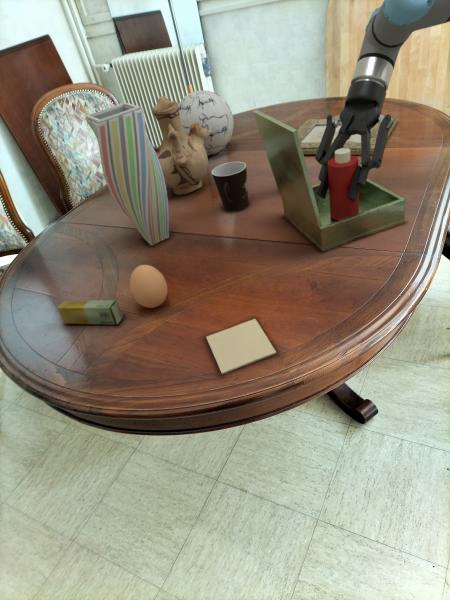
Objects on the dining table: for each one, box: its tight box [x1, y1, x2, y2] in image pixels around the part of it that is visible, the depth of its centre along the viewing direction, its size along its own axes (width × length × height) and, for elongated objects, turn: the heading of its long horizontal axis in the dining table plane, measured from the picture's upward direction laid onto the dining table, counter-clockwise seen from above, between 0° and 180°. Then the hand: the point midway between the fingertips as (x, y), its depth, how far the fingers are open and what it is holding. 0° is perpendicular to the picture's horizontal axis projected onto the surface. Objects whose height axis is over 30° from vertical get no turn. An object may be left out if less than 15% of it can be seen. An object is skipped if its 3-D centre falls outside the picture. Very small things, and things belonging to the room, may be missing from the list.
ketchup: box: [328, 148, 359, 220], centre depth 87 cm, size 6×6×14 cm
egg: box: [129, 264, 168, 309], centre depth 78 cm, size 7×7×9 cm
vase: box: [84, 101, 170, 246], centre depth 94 cm, size 14×14×30 cm
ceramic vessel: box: [151, 95, 212, 196], centre depth 116 cm, size 18×19×25 cm
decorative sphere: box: [178, 89, 235, 157], centre depth 138 cm, size 20×20×20 cm
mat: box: [205, 318, 277, 375], centre depth 67 cm, size 9×9×1 cm
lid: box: [252, 109, 322, 227], centre depth 81 cm, size 19×19×1 cm
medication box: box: [57, 299, 124, 326], centre depth 80 cm, size 12×3×4 cm, turn 78°
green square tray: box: [281, 178, 406, 253], centre depth 90 cm, size 19×19×5 cm
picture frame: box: [296, 116, 398, 156], centre depth 130 cm, size 27×30×3 cm
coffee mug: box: [211, 161, 249, 213], centre depth 104 cm, size 12×9×10 cm
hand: (336, 197), depth 86 cm, fingers closed on ketchup, 6 cm apart
